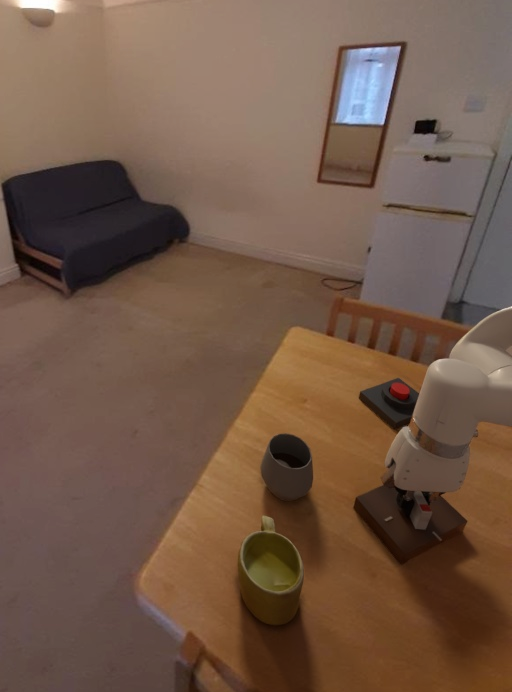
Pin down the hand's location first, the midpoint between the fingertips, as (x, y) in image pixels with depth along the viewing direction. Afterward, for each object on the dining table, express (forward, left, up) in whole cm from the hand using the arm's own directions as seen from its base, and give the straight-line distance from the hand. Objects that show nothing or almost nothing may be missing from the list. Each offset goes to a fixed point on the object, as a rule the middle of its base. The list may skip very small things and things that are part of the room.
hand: (410, 507), depth 70 cm
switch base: (0, 0, -3) cm, 3 cm away
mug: (+28, -1, -3) cm, 28 cm away
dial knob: (0, 0, 0) cm, 0 cm away
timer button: (-20, -20, 0) cm, 28 cm away
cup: (+16, -13, -3) cm, 21 cm away
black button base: (-20, -20, -3) cm, 28 cm away
